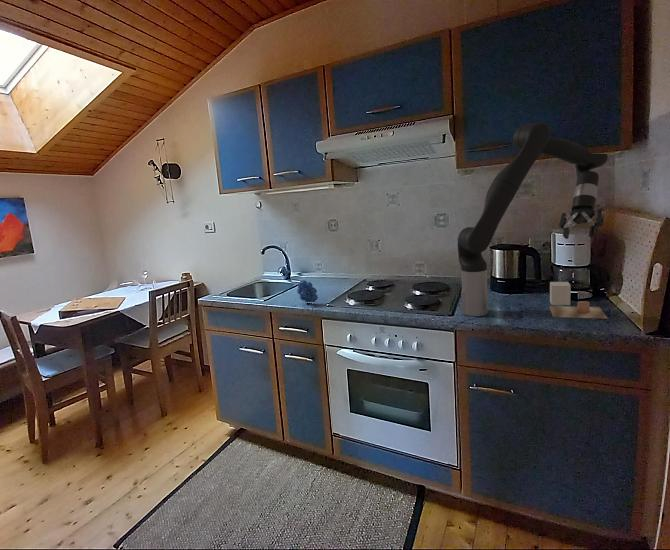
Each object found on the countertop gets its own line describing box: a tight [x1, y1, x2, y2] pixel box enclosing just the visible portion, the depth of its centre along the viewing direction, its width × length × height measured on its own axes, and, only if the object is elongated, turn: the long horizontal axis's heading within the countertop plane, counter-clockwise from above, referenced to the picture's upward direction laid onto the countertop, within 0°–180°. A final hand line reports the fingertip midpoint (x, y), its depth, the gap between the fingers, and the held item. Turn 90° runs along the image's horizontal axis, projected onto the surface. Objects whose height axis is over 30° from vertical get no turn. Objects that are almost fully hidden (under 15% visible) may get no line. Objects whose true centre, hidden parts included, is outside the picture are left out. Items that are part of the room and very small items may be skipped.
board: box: [549, 305, 609, 319], centre depth 137 cm, size 16×13×1 cm
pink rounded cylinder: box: [576, 300, 591, 314], centre depth 136 cm, size 4×4×4 cm
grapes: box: [296, 279, 319, 303], centre depth 185 cm, size 12×7×12 cm, turn 58°
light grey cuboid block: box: [549, 281, 572, 306], centre depth 148 cm, size 6×6×8 cm
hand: (578, 237), depth 145 cm, fingers open, 8 cm apart
